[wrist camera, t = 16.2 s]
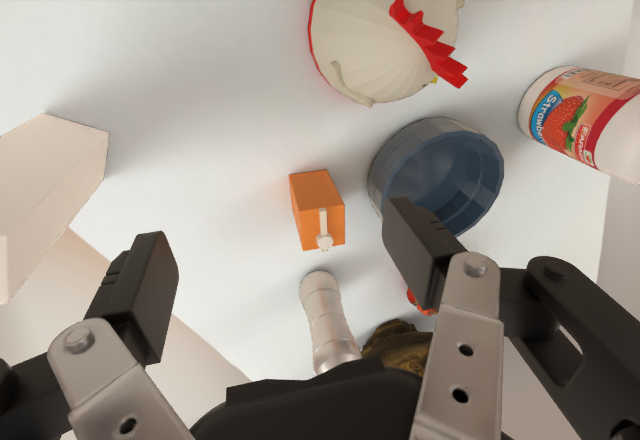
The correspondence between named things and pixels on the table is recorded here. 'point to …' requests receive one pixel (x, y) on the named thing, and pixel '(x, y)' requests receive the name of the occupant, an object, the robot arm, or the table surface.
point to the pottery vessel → (400, 346)
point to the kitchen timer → (384, 46)
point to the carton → (317, 210)
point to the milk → (43, 190)
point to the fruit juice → (587, 118)
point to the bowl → (439, 172)
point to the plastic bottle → (327, 322)
